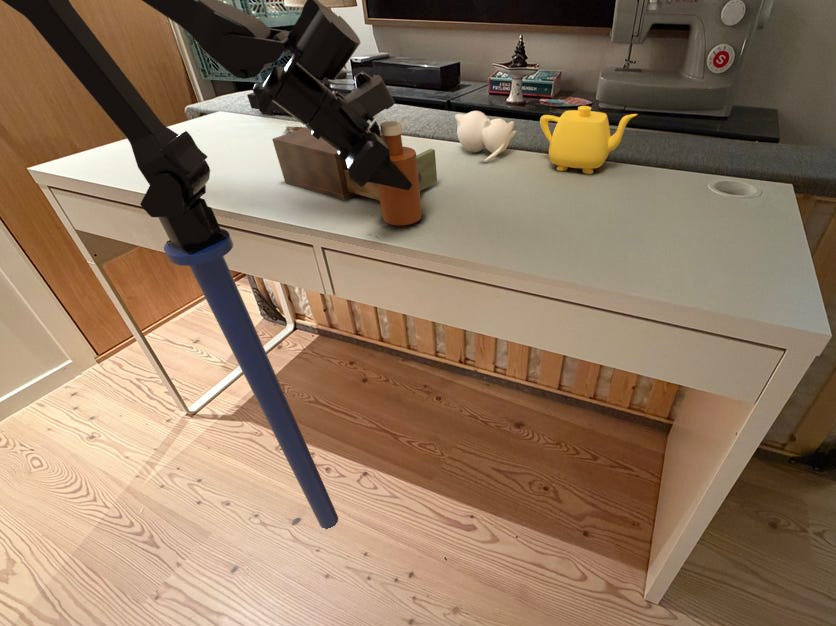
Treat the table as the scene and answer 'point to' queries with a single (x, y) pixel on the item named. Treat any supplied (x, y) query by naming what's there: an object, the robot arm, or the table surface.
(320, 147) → the cabinet
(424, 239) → the table surface
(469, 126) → the cat figurine
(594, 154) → the teapot
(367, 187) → the drawer
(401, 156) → the bottle
